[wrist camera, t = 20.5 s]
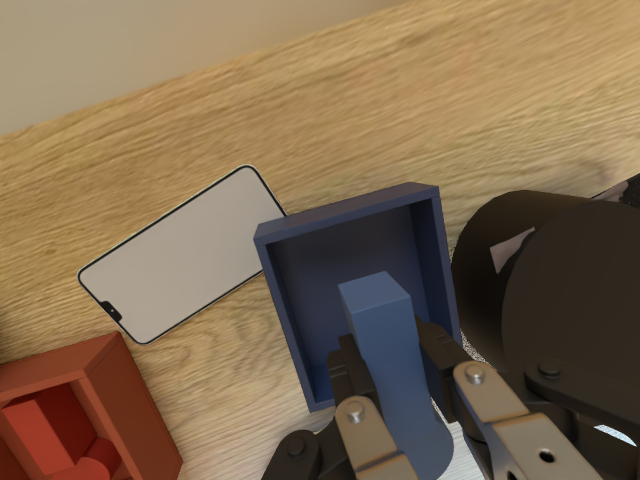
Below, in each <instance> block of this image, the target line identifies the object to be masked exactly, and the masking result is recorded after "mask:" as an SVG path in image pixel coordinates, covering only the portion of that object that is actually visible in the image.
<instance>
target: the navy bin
mask: <svg viewBox="0 0 640 480" xmlns="http://www.w3.org/2000/svg"><path fill="white" fill-rule="evenodd" d="M439 195H440V192H439V187H438V186H433V185H426V184H420V183H414V182H407V183H403V184H399V185H396V186H392V187H389V188H385V189H382V190H378V191H374V192H371V193H367V194H364V195H360V196H356V197H353V198H349V199H346V200H342V201H338V202H335V203H331V204H328V205H324V206H320V207H317V208H313V209H310V210H306V211H302V212H299V213H295V214H292V215H288V216H285V217H282V218H278V219H274V220H271V221H267V222H264V223H260V224H258V226H257V229H256V231H255V234H254V237H253V241H254V244H255V247H256V250H257V253H258V256H259V259H260V262H261V265H262V268H263V271H264V274H265V277H266V280H267V283H268V286H269V289H270V293H271V296H272V299H273V302H274V305H275V308H276V311H277V314H278V317H279V320H280V323H281V326H282V329H283V332H284V335H285V338H286V341H287V344H288V347H289V350H290V353H291V356H292V359H293V362H294V365H295V368H296V372H297V375H298V378H299V381H300V384H301V387H302V390H303V393H304V396H305V399H306V402H307V405H308V408H309V411H310V413H312V412H315V411H319V410H322V409H325V408H328V407H331V406H335V405H336V404H335V400H334V395H333V391H332V386H331V382H330V377H329V373H328V368H327V364H326V360H327V357H328V354H329V352H332V351H335V350H338V349H340V346H339V342H338V338H337V337H340V336H343V335H347V334H350V331H349V327H348V324H347V320H346V316H345V312H344V309H343V305H342V301H341V297H340V294H339V290H338V284H342V283H345V282H348V281H352V280H355V279H359V278H362V277H366V276H369V275H372V274H376V273H379V272H383V271H386V272H387V273H388V274H389V275H390V276H391V277H392V278H393V279H394V280H395V281H396V282H397V283H398V284H399V285H400V286H401V287H402V288H403V289H404V290H405V291H406V292H407V293H408V294H409V295H410V297H411V302H412V307H413V312H414V314H416V315H417V316H418V317H419V318H420V319H421V320H422V322H423V323H424V324H425V323H429V322H433V323H435V324H437V325H440V326H442V327H443V328H444V329H445V330H446V331H447V332H448V334H449V335H450V336H451V337H452V338H453V339H454V341H456V342H457V343H458V344H459V345H460V346H461V347H462V348H463V343H462V336H461V330H460V323H459V317H458V310H457V304H456V297H455V291H454V284H453V278H452V271H451V265H450V258H449V252H448V245H447V239H446V232H445V226H444V219H443V213H442V206H441V200H440V196H439Z"/></svg>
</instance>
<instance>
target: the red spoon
mask: <svg viewBox="0 0 640 480" xmlns="http://www.w3.org/2000/svg"><path fill="white" fill-rule="evenodd" d="M1 411H2V412H3V414H4V415H5V417H6V418H7V420H8V421H9V423H10V424H11V426H12V427H13V429H14V430H15V432H16V433H17V435H18V436H19V438H20V439H21V441H22V442H23V444H24V445H25V447H26V448H27V450H28V451H29V453H30V454H31V456H32V457H33V459H34V460H35V462H36V463H37V465H38V467H39V468H40V470H41V471H42V473H43V474H44V475H45V476H46V475H49V474H52V473H53V475H52V480H112V478H113V476H114V474H115V472H116V471H117V469H118V467H119V465H120V463H121V456H120V454H119V452H118V450H117V449H116V447H115V445H114V443H113V442H111V441H109V440H107V439H104V438H100V437H95V436H96V435H97V433H96V431H95V430H94V428H93V426H92V424H91V423H90V421H89V419H88V417H87V416H86V414H85V412H84V410H83V409H82V407H81V405H80V403H79V402H78V400H77V398H76V396H75V395H74V393H73V391H72V389H71V388H70V386H69V384H68V382H67V383H63V384H60V385H56V386H53V387H50V388H46V389H43V390H39V391H36V392H33V393H29V394H26V395H22V396H19V397H16V398H13V399H12V400H11V401H10V402H9V403H7V404H6V405H5V406H4V407H3V408H2V409H1Z"/></svg>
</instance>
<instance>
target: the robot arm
mask: <svg viewBox="0 0 640 480" xmlns="http://www.w3.org/2000/svg"><path fill="white" fill-rule="evenodd" d="M414 317H415V322H416V327H417V331H418V336H419V341H420V342H419V347H420V352H421V357H422V362H423V367H424V372H425V377H426V382H427V386H428V391H429V394H430V395H431V397H432V398H433V400H434V401H435V403H436V405H437V406H438V408H439V409H440V411H441V412H442V414H443V416H444V417H445V419H446V420H447V422H448V423H449V424H450V423H453V422H456V421H458V422H459V424H460V425H461V427H462V431H463V437H464V440H465V442H466V444H467V446H468V448H469V449H470V451H471V453H472V455H473V457H474V459H475V461H476V463H477V465H478V466H479V468H480V470H481V472H482V474H483V476H484V478H485V480H640V387H639V386H636V385H633V384H630V383H627V382H624V381H621V380H618V379H615V378H612V377H609V376H606V375H603V374H600V373H597V372H594V371H591V370H589V369H586V368H583V367H580V366H577V365H574V364H571V363H568V362H565V361H562V360H559V359H556V358H551V357H534V358H531V359H529V360H527V361H526V362H525V364H524V366H523V367H524V371H521V372H497V371H496V370H495V369H494V368H493V367H491V366H490V365H488V364H486V363H484V362H480V361H475V360H474V359H473V358H472V357H471V356H470V355H469V354H468V353H467V352H466V351H465V350H464V349H463V348H462V347H461V346H460V345H459V344H458V343H457V342H456V341H454V339H453V338H452V337H451V336H450V335H449V334H448V332H447V331H446V330H445V329H444V328H443V327H442V326H440V325H437V324H435V323H433V322H429V323H425V324H424V323H423V322H422V320H421V319H420V318H419V317H418V316H417V315H416V314H414ZM337 338H338V342H339V346H340V349H338V350H335V351H332V352H329V354H328V357H327V360H326V364H327V368H328V373H329V377H330V382H331V386H332V391H333V395H334V400H335V404H336V412H335V416H334V418H333V420H332V421H331V423H330V424H329V425H328V426H327V427H326V428H324V429H323V430H322V431H320V432H318V433H317V434H314V433H313V432H311V431H309V430H297V431H294V432H292V433H290V434H288V435H287V436H286V437H285V438H284V439H283V440H282V441H281V442H280V444H279V445H278V447H277V449H276V451H275V453H274V455H273V457H272V459H271V461H270V463H269V465H268V467H267V469H266V471H265V473H264V475H263V477H262V479H261V480H420V479H419V477H418V475H417V473H416V472H415V470H414V468H413V466H412V464H411V463H410V461H409V459H408V457H407V455H406V454H405V452H404V451H403V450H400V451H399V449H398V448H397V446H396V444H395V442H394V440H393V438H392V436H391V434H390V433H389V431H388V429H387V427H386V425H385V421H384V417H383V413H382V409H381V405H380V401H379V397H378V393H377V389H376V386H375V384H374V382H373V379H372V377H371V374H370V372H369V370H368V367H367V365H366V362H365V360H364V359H362V358H361V355H360V353H359V350H358V348H357V345H356V343H355V340H354V338H353V335H352V333H350V334H347V335H343V336H340V337H337ZM579 414H581V415H583V416H585V417H587V418H590V419H592V420H594V421H596V422H599V423H601V424H603V425H606V426H608V427H610V428H612V429H615V430H617V431H619V432H621V433H623V434H625V435H626V436H628V437H629V438H630V439H631V440H632V441H633V442H634V443H635V444H636V446H637V447H636V446H633V445H631V444H629V443H627V442H625V441H622V440H620V439H618V438H616V437H614V436H611V435H609V434H607V433H605V432H603V431H600V430H598V429H596V428H594V427H592V426H589V425H587V424H585V423H583V422H581V421H579Z"/></svg>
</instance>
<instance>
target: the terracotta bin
mask: <svg viewBox="0 0 640 480" xmlns="http://www.w3.org/2000/svg"><path fill="white" fill-rule="evenodd" d="M67 382H68V384H69V386H70V388H71V389H72V391H73V393H74V395H75V396H76V398H77V400H78V402H79V403H80V405H81V407H82V409H83V410H84V412H85V414H86V416H87V417H88V419H89V421H90V423H91V424H92V426H93V428H94V430H95V431H96V433H97V435H96V436H95V437H100V438H104V439H107V440H109V441H111V442H113V443H114V445H115V447H116V449H117V450H118V452H119V454H120V456H121V463H120V465H119V467H118V469H117V471H116V472H115V474H114V476H113V478H112V480H177V478H178V475H179V472H180V469H181V466H182V463H183V460H182V458H181V456H180V454H179V452H178V450H177V448H176V446H175V444H174V442H173V440H172V438H171V436H170V434H169V432H168V430H167V428H166V426H165V424H164V422H163V420H162V418H161V416H160V414H159V412H158V410H157V408H156V406H155V404H154V401H153V399H152V397H151V395H150V393H149V391H148V389H147V387H146V385H145V383H144V381H143V379H142V377H141V375H140V373H139V371H138V369H137V367H136V365H135V363H134V361H133V359H132V357H131V355H130V353H129V351H128V349H127V347H126V345H125V343H124V341H123V338H122V336H121V334H120V332H119V331H118V332H114V333H111V334H107V335H104V336H100V337H97V338H93V339H90V340H86V341H83V342H79V343H76V344H73V345H69V346H66V347H62V348H59V349H55V350H52V351H48V352H45V353H41V354H38V355H35V356H31V357H28V358H24V359H21V360H17V361H14V362H10V363H7V364H3V365H0V480H52V475H53V473H52V474H49V475H46V476H45V475H44V474H43V473H42V471H41V470H40V468H39V467H38V465H37V463H36V462H35V460H34V459H33V457H32V456H31V454H30V453H29V451H28V450H27V448H26V447H25V445H24V444H23V442H22V441H21V439H20V438H19V436H18V435H17V433H16V432H15V430H14V429H13V427H12V426H11V424H10V423H9V421H8V420H7V418H6V417H5V415H4V414H3V412H2V411H1V409H2V408H3V407H4V406H5V405H6V404H7V403H9V402H10V401H11V400H12V399H13V398H16V397H19V396H22V395H26V394H29V393H33V392H36V391H39V390H43V389H46V388H50V387H53V386H56V385H60V384H63V383H67Z"/></svg>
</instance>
